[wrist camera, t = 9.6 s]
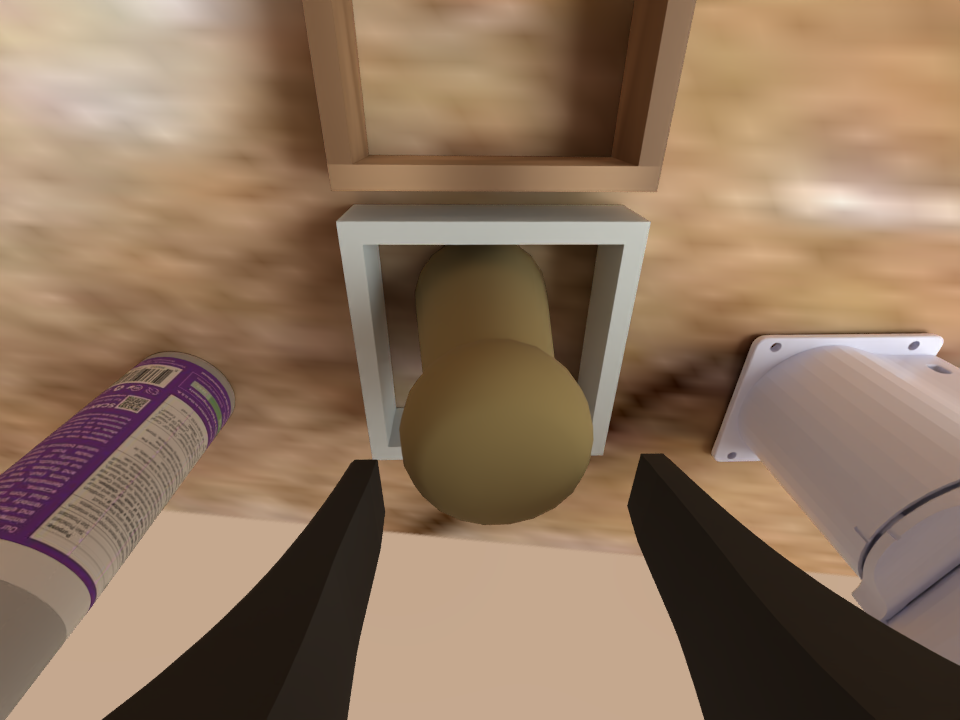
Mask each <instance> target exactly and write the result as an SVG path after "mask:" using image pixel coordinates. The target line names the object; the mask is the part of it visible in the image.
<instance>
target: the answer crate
mask: <svg viewBox="0 0 960 720" xmlns="http://www.w3.org/2000/svg"><path fill="white" fill-rule="evenodd" d="M650 223H651V222H650V221H649V220H647V219H645V218H644V217H642V216H640V215H639V214H637V213H636V212H634V211H632V210H631V209H629V208H627V207H626V206H624V205H461V204H354V205H353V206H352V207H351V208H350V209H349V210H347V211H346V212H345V213H344V214H343V215H342V216H341V217H340V218H339V219H338V220H337V221H336V225H337V232H338V238H339V245H340V251H341V258H342V264H343V271H344V277H345V284H346V290H347V297H348V303H349V310H350V316H351V323H352V329H353V336H354V342H355V349H356V355H357V362H358V368H359V375H360V381H361V388H362V394H363V401H364V407H365V414H366V420H367V427H368V433H369V440H370V446H371V453H372V459H377V460H403V457H402V452H401V442H400V432H399V427H400V422H401V418H402V414H403V410H404V408H396V402H395V393H394V383H393V374H392V365H391V356H390V346H389V337H388V328H387V319H386V310H385V300H384V291H383V282H382V273H381V263H380V254H379V245H554V244H598V249H597V256H596V262H595V269H594V276H593V282H592V289H591V296H590V303H589V309H588V316H587V323H586V329H585V336H584V343H583V350H582V356H581V363H580V370H579V376H578V383H577V384H578V385H579V386H580V388H581V389H582V391H583V393H584V395H585V398H586V400H587V402H588V406H589V410H590V415H591V419H592V424H593V439H594V440H593V446H592V451H591V455H603V452H604V447H605V443H606V438H607V433H608V428H609V423H610V418H611V413H612V408H613V404H614V399H615V394H616V389H617V384H618V379H619V374H620V369H621V365H622V360H623V355H624V350H625V345H626V340H627V335H628V330H629V326H630V321H631V316H632V311H633V306H634V301H635V296H636V291H637V287H638V282H639V277H640V272H641V267H642V262H643V257H644V252H645V248H646V243H647V238H648V233H649V228H650Z"/></svg>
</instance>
